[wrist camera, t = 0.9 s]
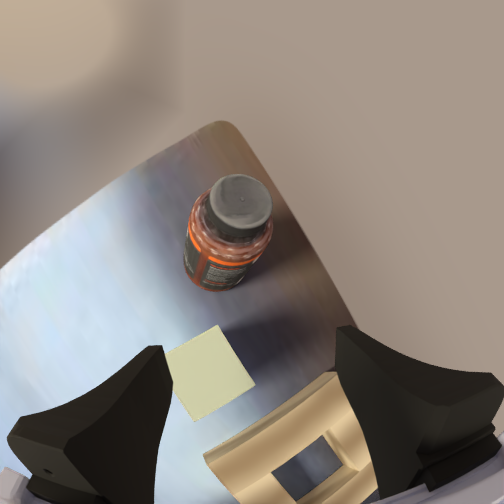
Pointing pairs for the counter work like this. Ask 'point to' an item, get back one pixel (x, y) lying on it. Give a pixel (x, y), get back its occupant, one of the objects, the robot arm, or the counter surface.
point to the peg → (207, 373)
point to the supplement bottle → (227, 232)
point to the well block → (298, 449)
